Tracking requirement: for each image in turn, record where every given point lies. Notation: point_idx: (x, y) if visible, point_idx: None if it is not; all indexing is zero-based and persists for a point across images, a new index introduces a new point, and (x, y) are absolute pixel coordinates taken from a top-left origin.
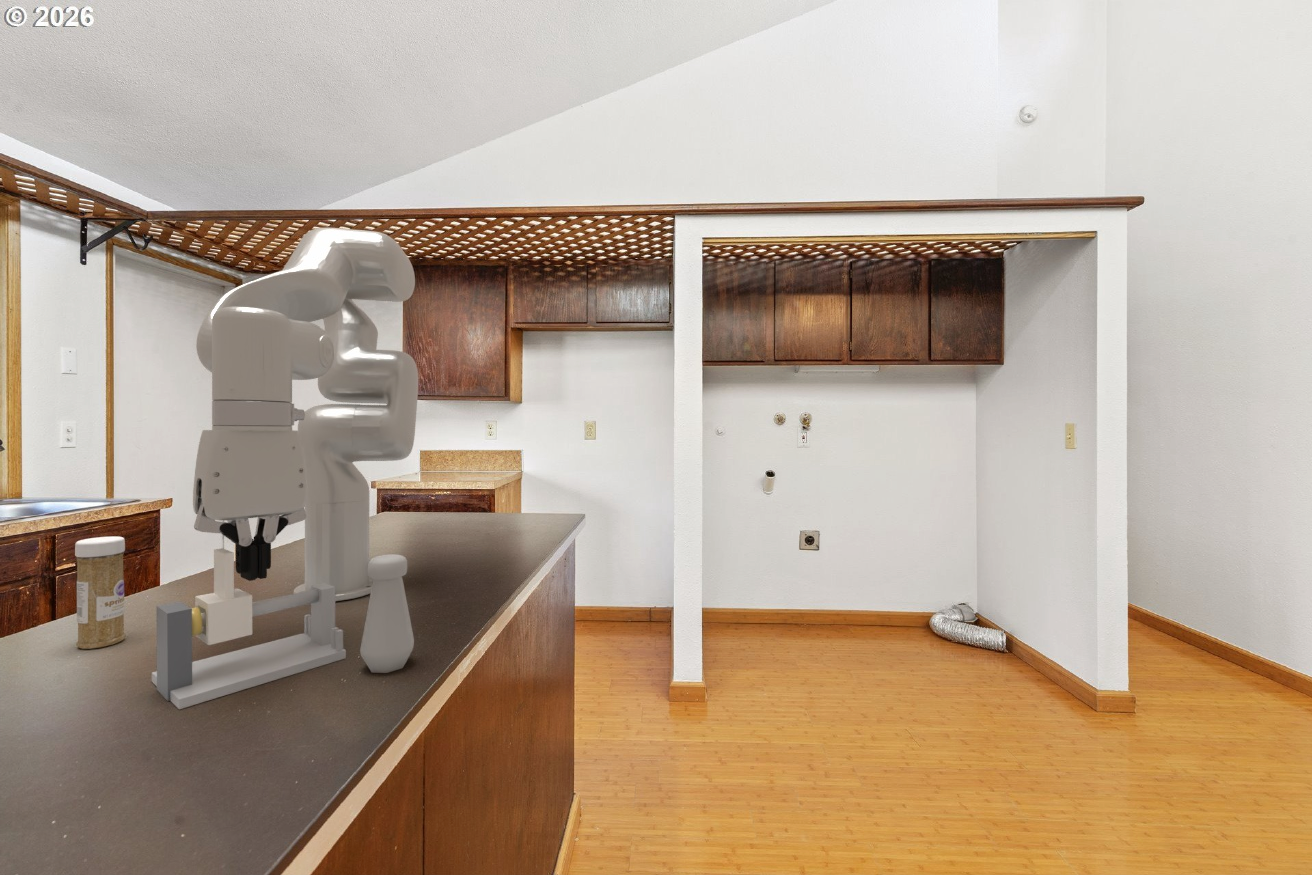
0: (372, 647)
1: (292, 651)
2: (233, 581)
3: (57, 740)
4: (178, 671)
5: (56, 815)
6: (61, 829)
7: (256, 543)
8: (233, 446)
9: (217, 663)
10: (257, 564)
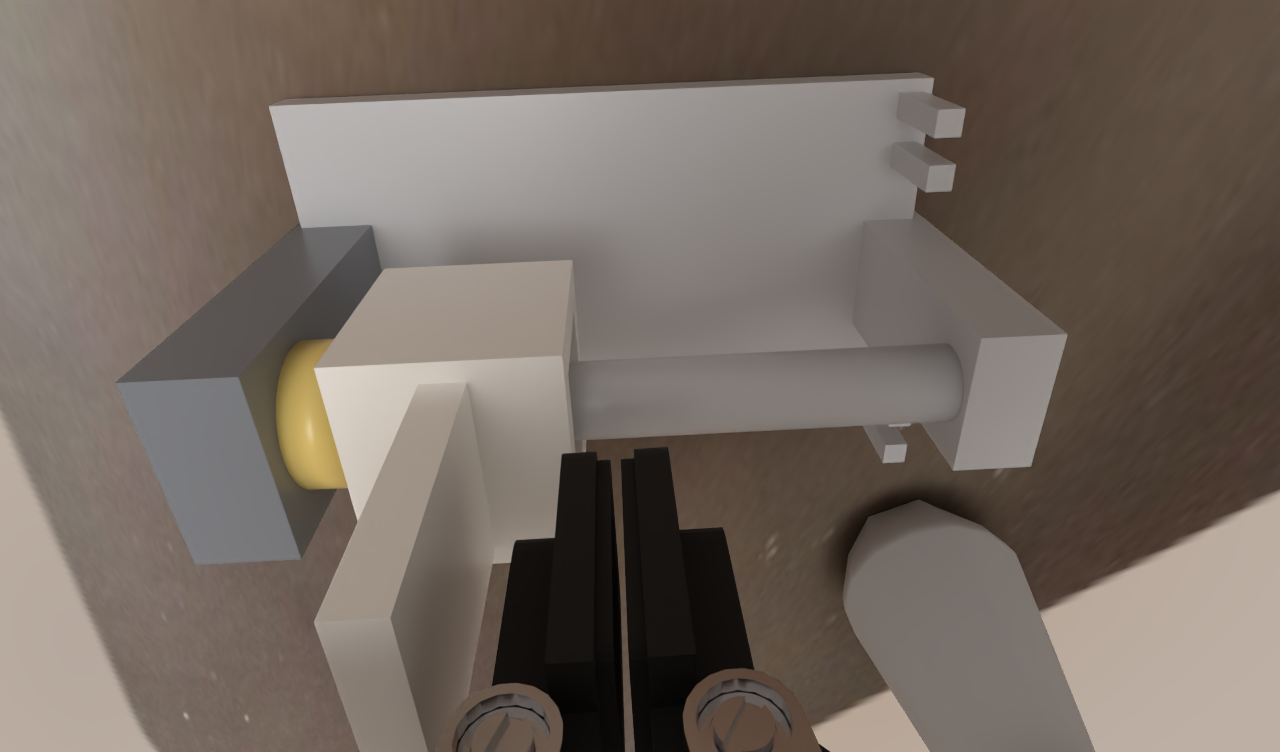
0: (862, 644)
1: (753, 295)
2: (479, 621)
3: (88, 403)
4: None
5: (184, 702)
6: (202, 739)
7: (652, 747)
8: None
9: (501, 205)
10: (622, 674)
